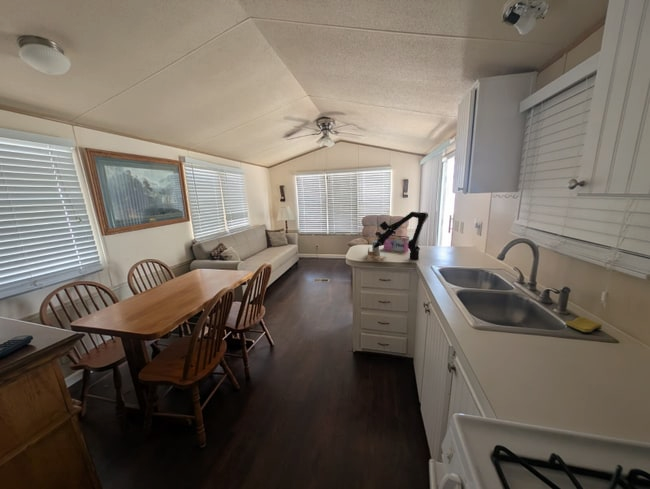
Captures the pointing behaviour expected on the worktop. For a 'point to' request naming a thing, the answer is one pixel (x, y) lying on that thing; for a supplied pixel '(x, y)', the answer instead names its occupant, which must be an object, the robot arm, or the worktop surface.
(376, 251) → the slate block
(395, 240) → the gum box
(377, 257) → the kraft carton
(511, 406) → the worktop surface
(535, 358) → the worktop surface
